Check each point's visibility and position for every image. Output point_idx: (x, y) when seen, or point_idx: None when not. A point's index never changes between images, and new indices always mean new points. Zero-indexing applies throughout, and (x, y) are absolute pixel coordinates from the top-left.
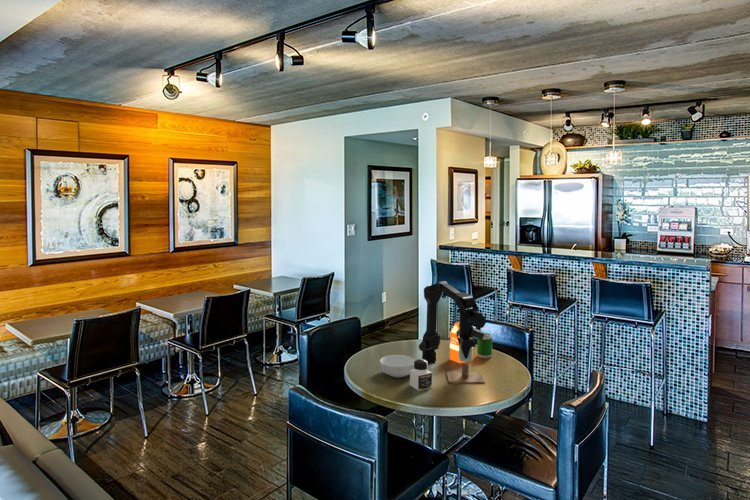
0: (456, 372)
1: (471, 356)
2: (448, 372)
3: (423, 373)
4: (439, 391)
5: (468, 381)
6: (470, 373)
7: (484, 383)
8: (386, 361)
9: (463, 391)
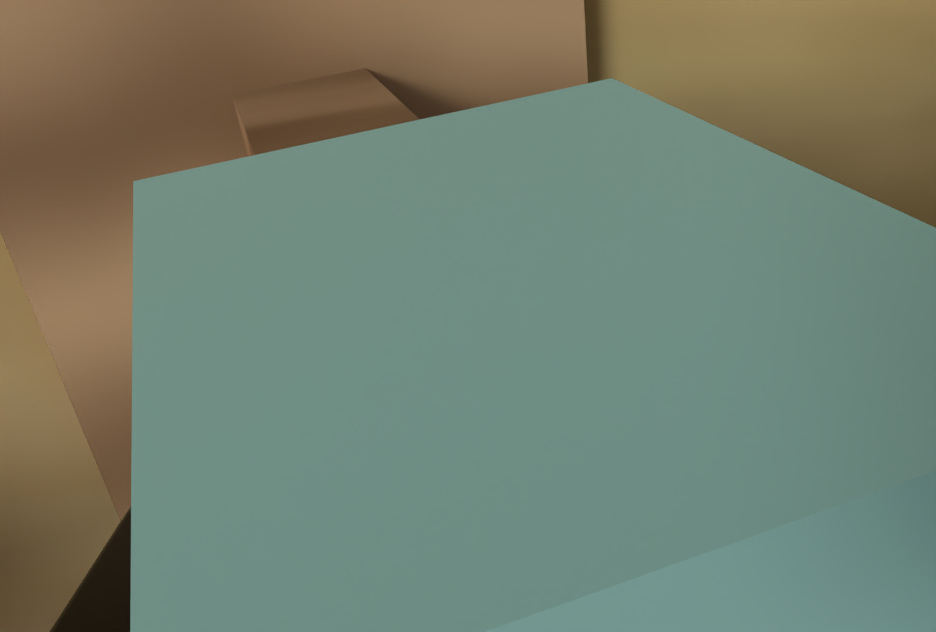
0: (59, 356)
1: (732, 156)
2: (118, 498)
3: None
4: None
5: (567, 56)
6: (9, 19)
7: None
8: None
9: (897, 122)
